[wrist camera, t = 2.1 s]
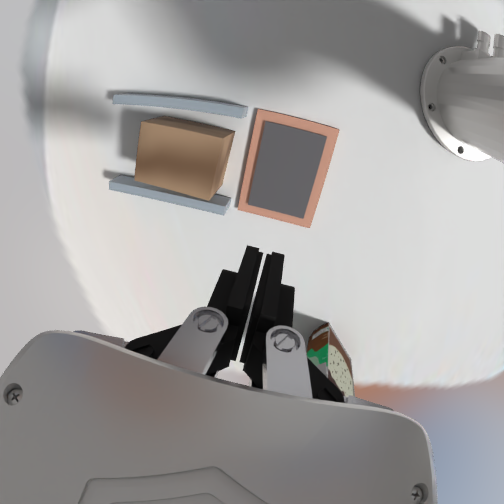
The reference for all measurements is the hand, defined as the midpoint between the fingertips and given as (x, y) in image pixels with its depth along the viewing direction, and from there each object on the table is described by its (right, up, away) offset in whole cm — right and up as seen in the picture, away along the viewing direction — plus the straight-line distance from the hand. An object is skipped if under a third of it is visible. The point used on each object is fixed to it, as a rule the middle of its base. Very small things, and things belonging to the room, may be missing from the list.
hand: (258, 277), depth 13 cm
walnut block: (-7, +12, +16) cm, 21 cm away
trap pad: (+3, +9, +15) cm, 18 cm away
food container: (+10, -13, +28) cm, 33 cm away
